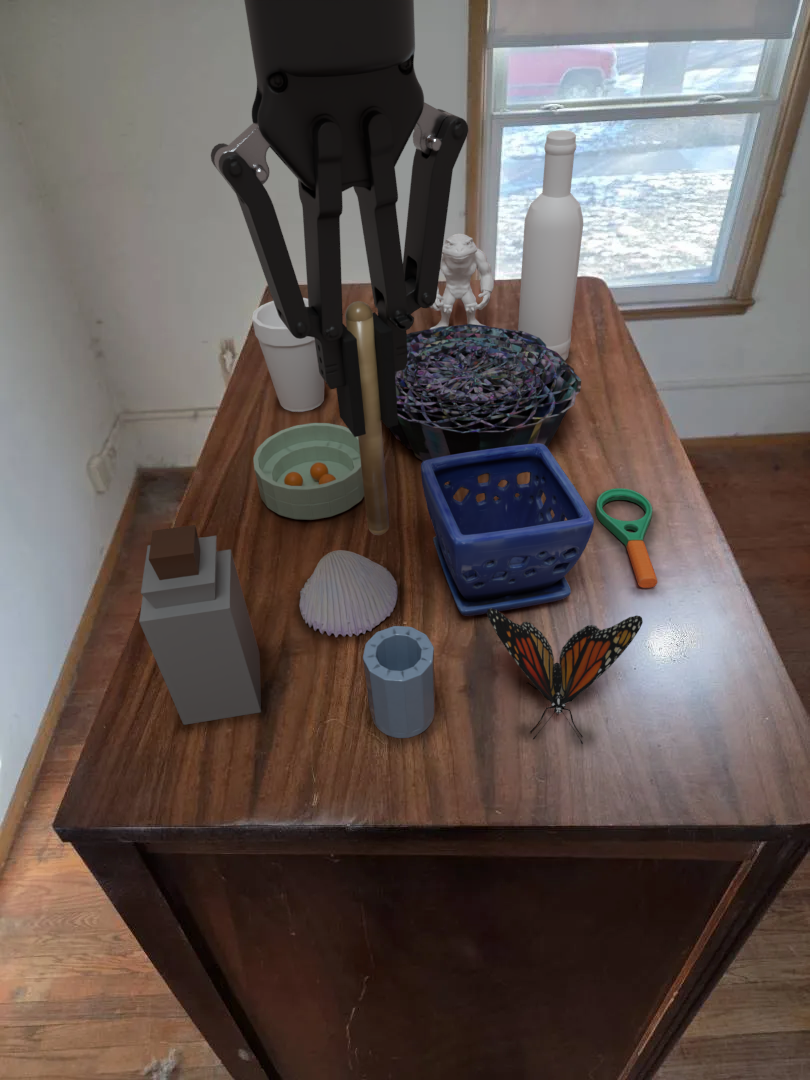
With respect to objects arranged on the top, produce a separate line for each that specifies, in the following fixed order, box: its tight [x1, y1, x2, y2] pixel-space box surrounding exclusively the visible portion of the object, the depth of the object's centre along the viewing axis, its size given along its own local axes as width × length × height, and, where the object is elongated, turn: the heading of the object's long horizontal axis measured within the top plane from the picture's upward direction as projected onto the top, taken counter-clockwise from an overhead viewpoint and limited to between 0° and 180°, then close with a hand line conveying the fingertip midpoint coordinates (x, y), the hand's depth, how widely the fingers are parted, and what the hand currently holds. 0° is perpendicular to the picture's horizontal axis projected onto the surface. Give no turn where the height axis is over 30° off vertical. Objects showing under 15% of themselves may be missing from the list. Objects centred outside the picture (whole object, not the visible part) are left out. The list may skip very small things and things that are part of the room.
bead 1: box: [284, 472, 303, 486], centre depth 87 cm, size 2×2×2 cm
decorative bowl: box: [388, 324, 582, 462], centre depth 94 cm, size 26×28×10 cm
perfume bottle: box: [138, 524, 262, 726], centre depth 61 cm, size 7×7×18 cm
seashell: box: [298, 549, 399, 638], centre depth 74 cm, size 10×6×10 cm
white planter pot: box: [251, 297, 325, 413], centre depth 100 cm, size 10×9×13 cm
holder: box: [362, 625, 436, 739], centre depth 62 cm, size 6×6×8 cm
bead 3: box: [319, 474, 336, 484], centre depth 86 cm, size 2×2×2 cm
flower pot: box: [420, 443, 595, 617], centre depth 72 cm, size 13×13×12 cm
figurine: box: [429, 233, 495, 329], centre depth 113 cm, size 11×7×15 cm, turn 90°
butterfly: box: [486, 608, 644, 745], centre depth 61 cm, size 12×10×10 cm
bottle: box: [517, 129, 584, 361], centre depth 101 cm, size 8×8×30 cm
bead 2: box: [310, 462, 328, 481], centre depth 88 cm, size 2×2×2 cm
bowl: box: [252, 422, 365, 521], centre depth 87 cm, size 13×13×5 cm
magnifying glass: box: [595, 487, 659, 589], centre depth 79 cm, size 15×6×2 cm, turn 179°
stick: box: [344, 300, 390, 536], centre depth 48 cm, size 2×2×18 cm
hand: (368, 420), depth 47 cm, fingers closed on stick, 1 cm apart
